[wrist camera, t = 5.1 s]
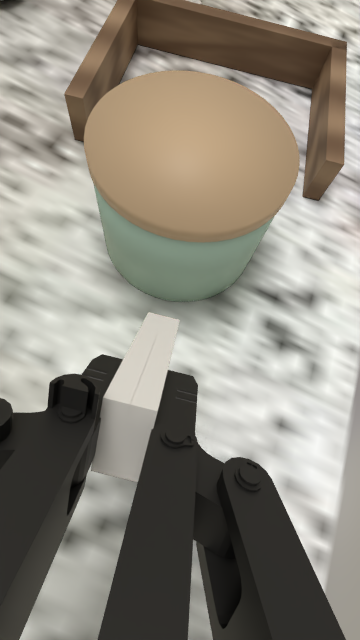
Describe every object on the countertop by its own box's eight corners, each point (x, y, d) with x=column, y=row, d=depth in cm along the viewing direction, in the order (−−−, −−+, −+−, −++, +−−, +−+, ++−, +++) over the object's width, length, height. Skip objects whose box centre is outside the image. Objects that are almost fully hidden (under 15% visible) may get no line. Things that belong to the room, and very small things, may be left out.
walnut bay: (318, 200, 29) (344, 164, 25) (74, 139, 28) (64, 93, 25) (325, 83, 35) (346, 41, 32) (128, 33, 35) (126, -15, 31)
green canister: (173, 334, 23) (188, 274, 14) (73, 224, 25) (38, 121, 17) (280, 246, 26) (340, 159, 18) (184, 158, 29) (199, 47, 21)
